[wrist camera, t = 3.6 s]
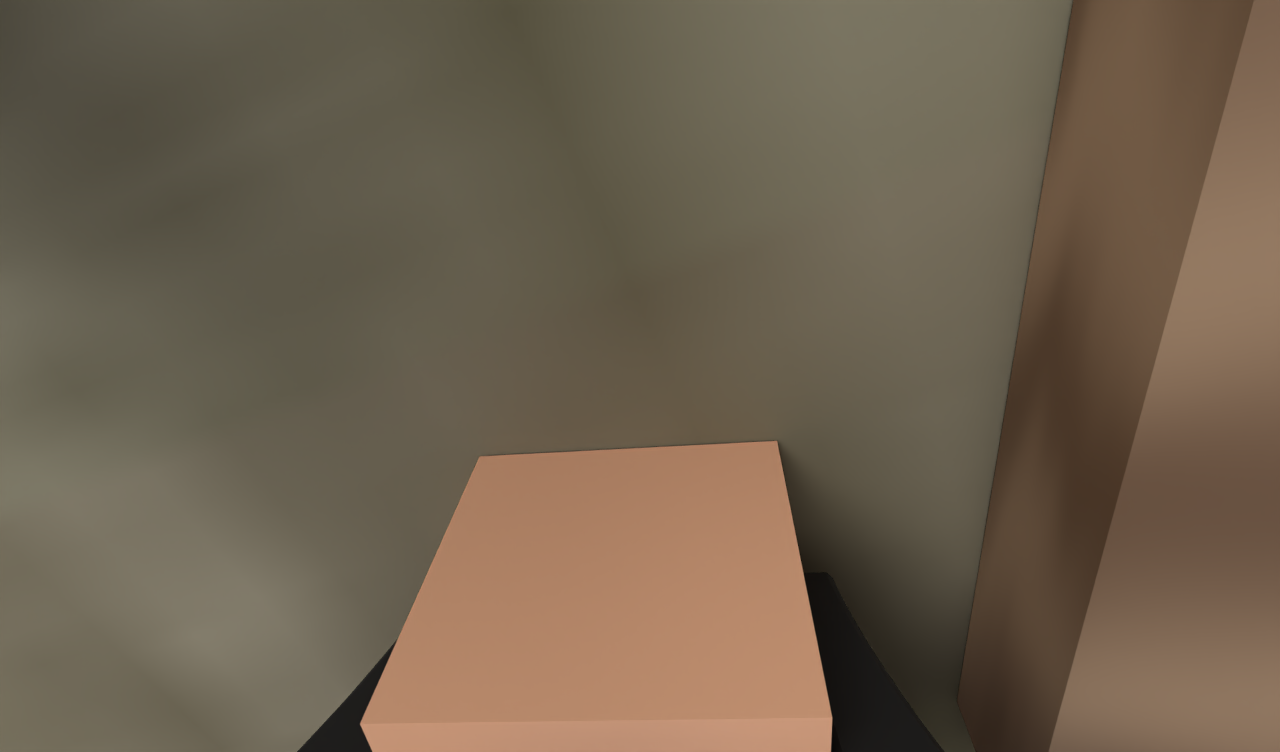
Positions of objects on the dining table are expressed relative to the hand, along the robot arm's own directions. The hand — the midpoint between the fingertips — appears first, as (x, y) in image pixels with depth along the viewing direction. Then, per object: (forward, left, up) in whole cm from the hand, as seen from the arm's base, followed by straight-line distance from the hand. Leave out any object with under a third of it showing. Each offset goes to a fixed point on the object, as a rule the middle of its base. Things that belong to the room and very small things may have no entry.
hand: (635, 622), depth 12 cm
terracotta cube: (0, 0, -1) cm, 1 cm away
